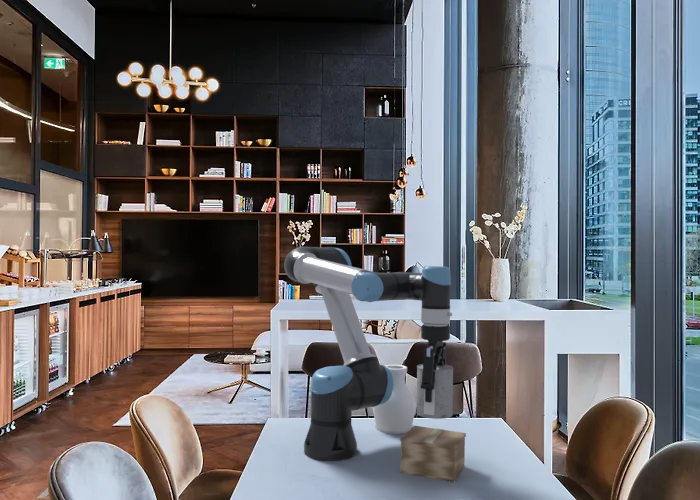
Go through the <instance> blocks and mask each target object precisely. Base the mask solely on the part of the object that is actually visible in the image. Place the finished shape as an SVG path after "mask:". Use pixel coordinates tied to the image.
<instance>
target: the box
mask: <svg viewBox="0 0 700 500" xmlns="http://www.w3.org/2000/svg"><path fill="white" fill-rule="evenodd" d="M465 440H466V437H465V438H464V439H463V441H462V442H461V443H460V445H459V446H458V448H457V449H456V450H449V449H443V448H437V447H430V446H424V445H418V444H412V443H405V442H400V473H401V474H406V475H411V476H417V477H423V478H428V479H434V480H439V481H445V482H449V481H450V482H449V483H455V482H456V480H457V479H458V478H459V475H460V474H461V473H462V471H463V469H464V467H465V460H466V459H465V455H466V454H465V453H466V451H465V449H466V448H465V445H466V442H465Z"/></svg>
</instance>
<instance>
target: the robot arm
mask: <svg viewBox="0 0 700 500" xmlns="http://www.w3.org/2000/svg"><path fill="white" fill-rule="evenodd" d="M283 268H284V272H285V274H286V276H287V277H288V278H289V279H290V280H292V281H293V282H296V283H300V284H305V285H306V284H313V286H314V289H315V291H316V293H317V294H320V295H322V299H323V302H324V305H325V308H326V310H327V314H328V317H329V320H330V323H331V326H332V329H333V332H334V335H335V337H336V338H335V339H336V340H337V344H338V347H339V350H340V353H341V355H342V356H341V357H342V359H343V365H334V366H333V365H330V366H325V367H322V368H319V369H317V370H316V371H315V372H313V374H312V376H311V385H310V391H311V393H310V395H311V396H310V425H309V427H308V430H307V434H306V437H305V439H304V443H303V452H304V454H305V455H306V456H307V457H308V458H309V457H310V458H312V459H315V460H321V461H340V460H345V459H350V458H352V457H354V456H355V455H356V454H357V452H358V443H357V439H356V435H355V433H354V429H353V425H352V415H353V414H352V412H353V411H358V410H363V409H366V408H370V407H371V408H373V407H376V406H378V405H380V404H383V403H385V402H387V401H388V400H389V399H390V397H391V395H392V391H393V387H394V381H393V376H392V373H391V371H390V370H389V369H388V368H386V366H385V365H383V364H381V363H380V361H379V358H378V356H377V355H376V354H373V353H371V351H370V348H369V345H368V342H367V339H366V336H365V333H364V330H363V327H362V326H361V321H360V320H359V317H358V314H357V312H356V311H357V310H356V309H355V306H354V302H353V300H352V297H351V295H352V296H353V297H355V300H357V301H359V302H366V303H372V302H381V301H382V302H384V301H385V302H386V301H403V300H404V301H405V300H407V301H408V300H409V301H410V300H412V301H420V302H421V314H420V315H421V316H420V317H421V318H420V319H421V321H420V322H421V324H422V325H421V326H420V327H421V329H420V330H421V331H420V332H421V333H420V334H421V335H420V336H421V339H423V340H424V341H427V342H428V343H427V346H426V347H424V348H423V363H422V364H423V374H422V384H421V388H422V389H424V414H428V415H435V389H434V383H435V371H433V370H436V369H437V365H440V366H443V365H447V352H446V351H447V342H445V341H449V340H450V338H451V327H450V325H449V324H450V323H451V317H452V316H453V313H452V312H451V290H452V288H451V287H452V280H451V278H452V274H451V269H450V268H449V267H448V266H443V265H442V266H440V265H439V266H438V265H437V266H436V265H435V266H433V265H432V266H431V265H429V266H428V265H424V266H423V267H422V269H421V270H422V271H421V272H409V271H398V272H397V271H396V272H376V271H371V270H368V269H363V268H360V267H355V266H352V262H351V259H350V256H349V255H348V253H347V252H345V250H343V249H342V248H339V247H332V246H326V247H325V246H324V247H320V246H298V247H295V248H293V249H292V250H291V251H290V252H288V253H287V255H286V257H285V259H284V263H283Z"/></svg>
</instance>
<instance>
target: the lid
mask: <svg viewBox="0 0 700 500" xmlns="http://www.w3.org/2000/svg"><path fill="white" fill-rule="evenodd" d="M466 437H467V433H466V432H460V431H456V430H455V431H453V430H446V429H442V428H434V427H427V426H426V427H425V426H420V425H419V426H418V425H412V428H411V429H410V430H409V431H408V432H407V433H404V435H403V436H401V437H400V439H399V441H400V443H401V442H405V443H412V444H418V445H424V446H430V447H437V448H443V449H449V450H456V449H457V448H458V446H459V445H460V443H461V442H462V441H463V439H464V438H465V439H466Z"/></svg>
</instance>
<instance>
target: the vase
mask: <svg viewBox="0 0 700 500" xmlns="http://www.w3.org/2000/svg"><path fill="white" fill-rule="evenodd" d="M384 366H386V368H388V369H389V370H390V371H391V373H392V376H393V381H394V387H393V391H392V395H391V397H390V399H389V400H388V401H387V402H385V403H383V404H380V405H378V406H376V407H372V413H373V418H374V423H375V425H374V427H375V429H376V430H377V431H379V432H381V433H384V434H385V433H386V434H390V435H391V434H394V435H395V434H398V433H399V435H401V434H400V433H402V434H406V432H408V431H409V430H410V429H411V428H412V427H413V423H414V418H415V414H416V411H417V399H416V397H415V395H414V393H412V391H411V390H410V388H409V387H408V386H407V384H406V381H405V380H406V379H405V378H406V375H407V372H408V366H406V365H402V364H385V365H384Z"/></svg>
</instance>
